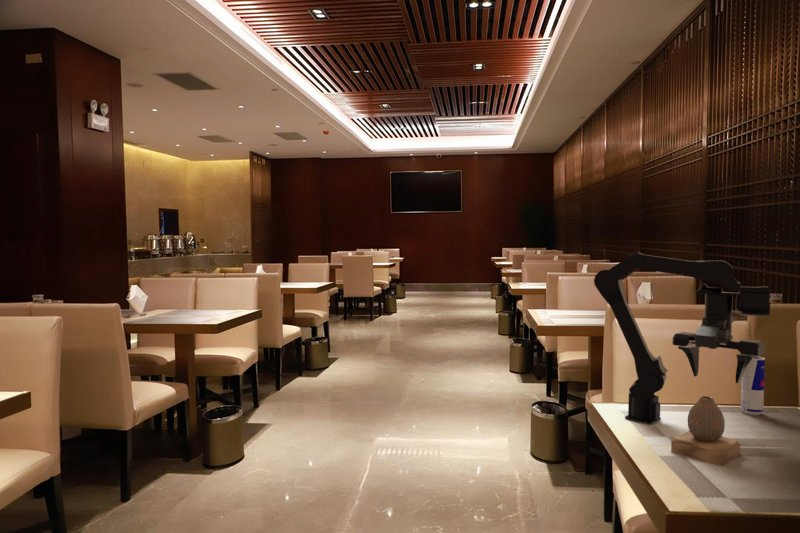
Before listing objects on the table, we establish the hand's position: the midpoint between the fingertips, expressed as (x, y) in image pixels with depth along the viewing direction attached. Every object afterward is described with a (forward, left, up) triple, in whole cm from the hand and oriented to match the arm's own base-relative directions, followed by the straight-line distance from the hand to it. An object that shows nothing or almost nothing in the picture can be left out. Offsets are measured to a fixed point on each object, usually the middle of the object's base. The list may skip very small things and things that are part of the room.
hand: (716, 379), depth 140 cm
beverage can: (+1, +23, -12) cm, 26 cm away
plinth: (+5, -19, -12) cm, 23 cm away
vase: (+5, -19, -9) cm, 22 cm away
